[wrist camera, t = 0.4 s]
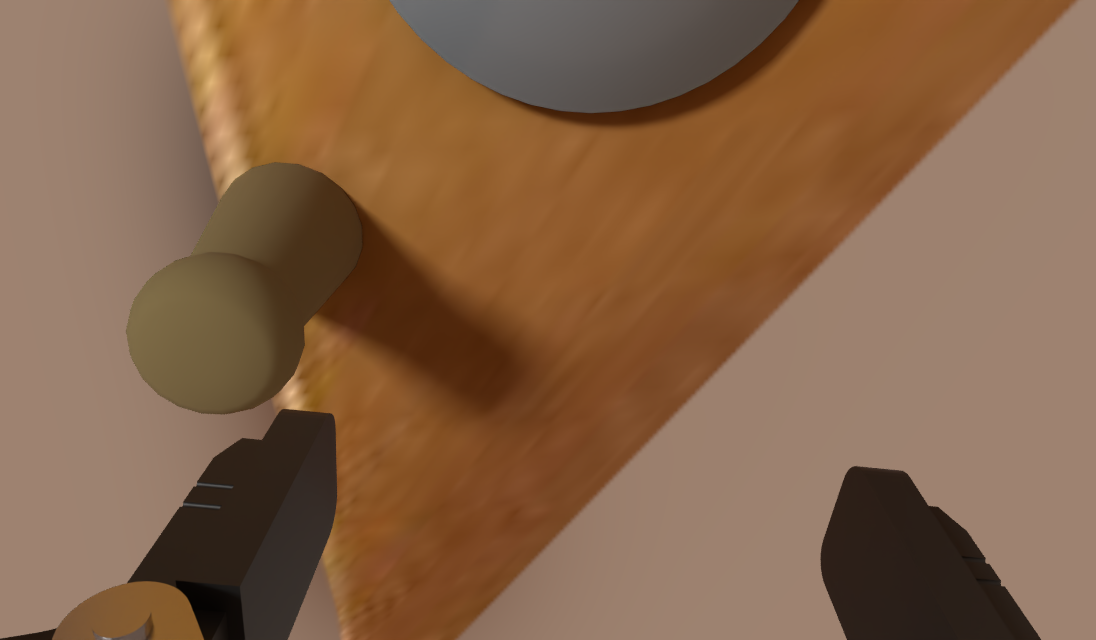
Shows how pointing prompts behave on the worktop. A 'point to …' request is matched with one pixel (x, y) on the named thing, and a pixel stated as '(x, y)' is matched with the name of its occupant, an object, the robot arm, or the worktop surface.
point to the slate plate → (593, 45)
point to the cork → (245, 291)
